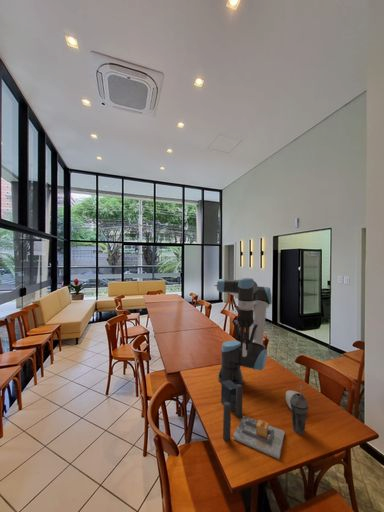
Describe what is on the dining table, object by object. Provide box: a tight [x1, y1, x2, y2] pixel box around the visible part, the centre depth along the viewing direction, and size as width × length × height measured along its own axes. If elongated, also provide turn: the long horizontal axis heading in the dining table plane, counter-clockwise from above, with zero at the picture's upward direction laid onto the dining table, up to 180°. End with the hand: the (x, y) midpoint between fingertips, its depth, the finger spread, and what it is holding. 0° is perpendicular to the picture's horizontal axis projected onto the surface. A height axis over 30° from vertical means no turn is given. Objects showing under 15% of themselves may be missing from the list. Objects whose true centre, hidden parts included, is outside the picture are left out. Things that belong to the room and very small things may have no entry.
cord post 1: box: [222, 402, 232, 442], centre depth 92 cm, size 3×3×14 cm
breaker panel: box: [232, 415, 285, 460], centre depth 93 cm, size 18×14×3 cm
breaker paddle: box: [256, 419, 269, 438], centre depth 93 cm, size 4×4×5 cm
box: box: [220, 380, 236, 411], centre depth 114 cm, size 8×6×11 cm
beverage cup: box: [290, 383, 309, 435], centre depth 98 cm, size 7×7×20 cm
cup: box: [285, 390, 300, 410], centre depth 114 cm, size 8×10×7 cm
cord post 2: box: [235, 384, 244, 419], centre depth 106 cm, size 3×3×14 cm
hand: (244, 355), depth 112 cm, fingers closed
